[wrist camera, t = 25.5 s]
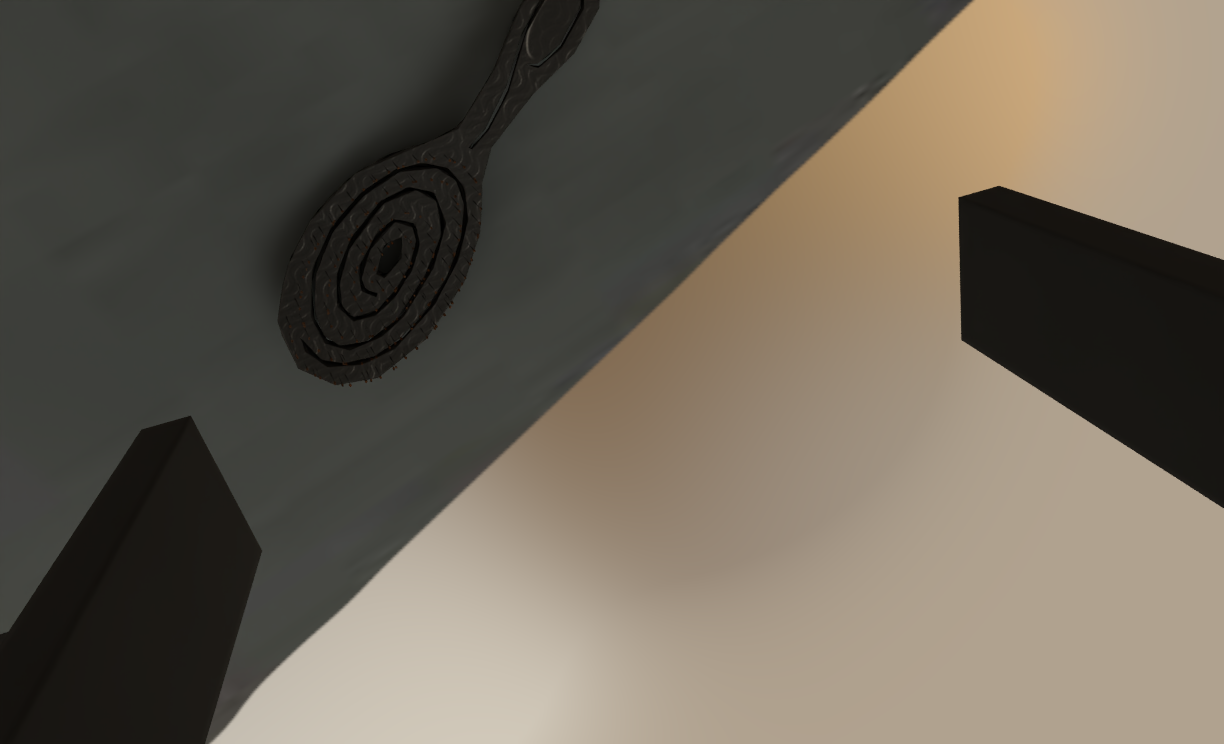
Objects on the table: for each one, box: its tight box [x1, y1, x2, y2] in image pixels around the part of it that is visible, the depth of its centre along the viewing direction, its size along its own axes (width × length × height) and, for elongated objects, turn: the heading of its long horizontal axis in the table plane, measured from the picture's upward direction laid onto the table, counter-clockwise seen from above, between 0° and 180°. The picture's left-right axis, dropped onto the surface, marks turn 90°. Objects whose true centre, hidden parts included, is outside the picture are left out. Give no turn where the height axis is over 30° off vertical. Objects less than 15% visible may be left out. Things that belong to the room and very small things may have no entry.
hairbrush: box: [278, 0, 599, 387], centre depth 41 cm, size 8×4×25 cm
